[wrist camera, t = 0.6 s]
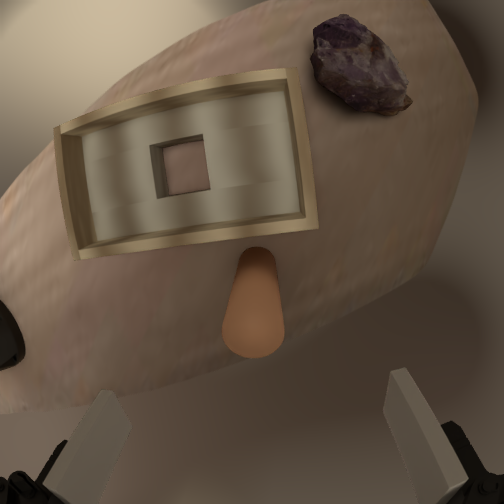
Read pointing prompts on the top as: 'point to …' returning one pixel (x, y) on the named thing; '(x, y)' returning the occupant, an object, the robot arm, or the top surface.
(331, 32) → the rock
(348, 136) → the top surface
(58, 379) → the top surface
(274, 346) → the peg
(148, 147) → the box
